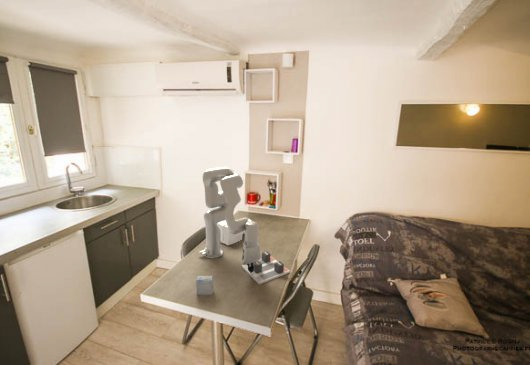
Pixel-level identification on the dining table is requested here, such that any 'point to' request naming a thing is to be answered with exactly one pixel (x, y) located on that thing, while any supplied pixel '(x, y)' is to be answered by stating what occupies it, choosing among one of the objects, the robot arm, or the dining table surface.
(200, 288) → the medicine box
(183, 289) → the dining table surface
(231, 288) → the dining table surface
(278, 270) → the panel
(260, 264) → the toggle
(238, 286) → the dining table surface
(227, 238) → the blocky voxel creature
